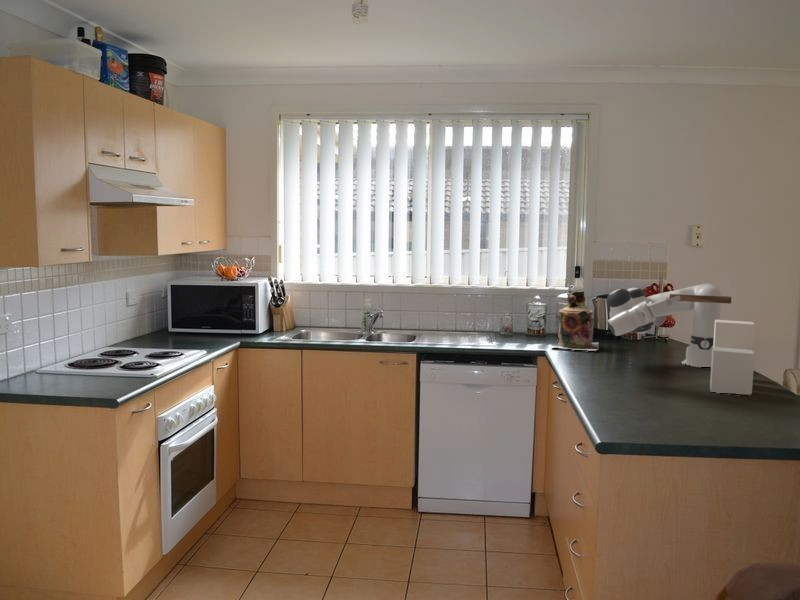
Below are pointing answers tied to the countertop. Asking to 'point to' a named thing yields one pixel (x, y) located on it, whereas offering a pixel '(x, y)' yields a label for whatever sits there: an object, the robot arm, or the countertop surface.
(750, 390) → the low stand
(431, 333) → the countertop surface
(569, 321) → the cookie jar
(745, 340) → the tall stand
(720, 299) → the bar
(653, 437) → the countertop surface
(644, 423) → the countertop surface
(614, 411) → the countertop surface
